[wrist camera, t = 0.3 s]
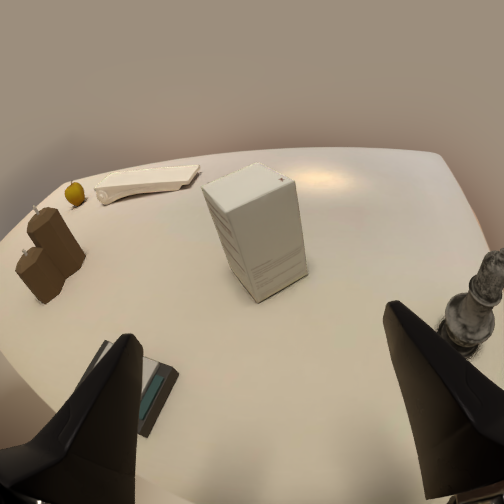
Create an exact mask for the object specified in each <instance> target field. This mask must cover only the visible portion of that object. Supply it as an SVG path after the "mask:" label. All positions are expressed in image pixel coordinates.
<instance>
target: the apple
mask: <svg viewBox="0 0 504 504" xmlns="http://www.w3.org/2000/svg"><path fill="white" fill-rule="evenodd" d="M65 197H66V199H67V200H68V202H70V203H71V204H73V205H75V206H79V205H80V204H81V203H82V202H83V201H84V198H85V195H84V189H83V187H82V186H81V185H80V184H79V183H77V182H74V183H72V182H71V185H70V186H69V187H67V189H66V190H65Z"/></svg>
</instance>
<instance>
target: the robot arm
mask: <svg viewBox="0 0 504 504" xmlns="http://www.w3.org/2000/svg"><path fill="white" fill-rule="evenodd" d="M383 325H384V329H385V333H386V338H387V342H388V346H389V351H390V356H391V360H392V363H393V367H394V370H395V373H396V376H397V379H398V382H399V386H400V389H401V392H402V396H403V399H404V403H405V406H406V410H407V413H408V417H409V421H410V425H411V429H412V433H413V437H414V441H415V445H416V450H417V454H418V460H419V464H420V470H421V475H422V480H423V486H424V492H425V498H426V500H428V499H434V498H440V497H445V496H450V495H453V496H452V497H451V498H450V500H449V501H448V503H447V504H504V390H502V389H501V388H500V387H498V386H497V385H496V384H495V383H493V382H492V381H491V380H490V379H488V378H487V377H486V376H485V375H483V374H482V373H481V372H480V371H479V370H478V369H477V368H476V367H474V366H473V365H472V364H471V363H470V362H469V361H468V360H466V358H465V357H464V356H462V355H461V354H460V353H459V352H458V351H457V350H456V349H455V348H454V347H453V346H451V345H450V344H449V343H448V342H447V341H446V340H445V339H444V338H442V337H441V336H440V335H439V334H438V333H437V332H436V331H434V330H433V329H432V328H431V327H430V326H429V325H427V324H426V323H425V322H424V321H423V320H422V319H420V318H419V317H418V316H417V315H416V314H415V313H413V312H412V311H411V310H410V309H409V308H407V307H406V306H405V305H404V304H403V303H401V302H400V301H398V300H395V301H391V302H388V303H387V304H386V308H385V312H384V315H383ZM142 379H143V347H142V345H141V344H140V342H139V341H138V340H137V338H136V337H135V336H134V335H133V334H131V333H129V334H122V335H121V336H120V337H119V338H118V339H117V341H116V342H115V343H114V344H113V345H112V346H111V348H110V349H109V350H108V351H107V352H106V354H105V355H104V356H103V357H102V358H101V359H100V361H99V362H98V363H97V364H96V365H95V367H94V368H93V369H92V370H91V371H90V373H89V374H88V375H87V376H86V377H85V379H84V380H83V381H82V382H81V384H80V385H79V386H78V387H77V389H76V390H75V391H74V392H73V394H72V395H71V396H70V397H69V399H68V400H67V401H66V402H65V403H64V405H63V406H62V407H61V408H60V410H59V411H58V412H57V413H56V414H55V416H54V417H53V418H52V419H51V420H50V421H49V422H48V424H46V425H45V427H44V428H43V429H42V430H41V431H40V432H39V433H38V434H37V435H36V436H35V437H34V438H33V439H32V440H31V441H29V442H28V443H25V444H23V445H19V446H14V447H10V448H6V449H1V450H0V504H135V465H136V447H137V433H138V422H139V411H140V402H141V394H142Z"/></svg>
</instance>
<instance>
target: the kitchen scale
mask: <svg viewBox="0 0 504 504" xmlns="http://www.w3.org/2000/svg"><path fill="white" fill-rule="evenodd" d="M112 345H113V343H111V342H109V341H107V340H105V341H104V342H103V344H102V345H101V347H100V348H99V350H98V352H97V353H96V355H95V356H94V358H93V360H92V361H91V363H90V365H89V366H88V368H87V370H86V371H85V373H84V375H83V376H82V378H81V380H80V382H79V383H78V385H77V387H78V386H79V385H80V384H81V382H82V381H83V380H84V379H85V377H86V376H87V375H88V374H89V373H90V371H91V370H92V369H93V368H94V367H95V365H96V364H97V363H98V362H99V361H100V359H101V358H102V357H103V356H104V355H105V354H106V352H107V351H108V350H109V349H110V348H111V346H112ZM178 375H179V373H178V372H177V371H176V370H175V369H174V368H173V367H171V366H168V365H166V364H163V363H160V362H157V361H155V360H152V359H149V358H147V357H144V356H143V379H142V394H141V402H140V411H139V422H138V434H140V435H142V436H144V437H148V435H149V433H150V431H151V429H152V427H153V425H154V423H155V421H156V419H157V417H158V415H159V413H160V411H161V409H162V407H163V405H164V403H165V401H166V399H167V397H168V395H169V393H170V391H171V389H172V387H173V385H174V383H175V381H176V379H177V377H178ZM77 387H76V389H77ZM76 389H75V390H76ZM75 390H74V391H75Z"/></svg>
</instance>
